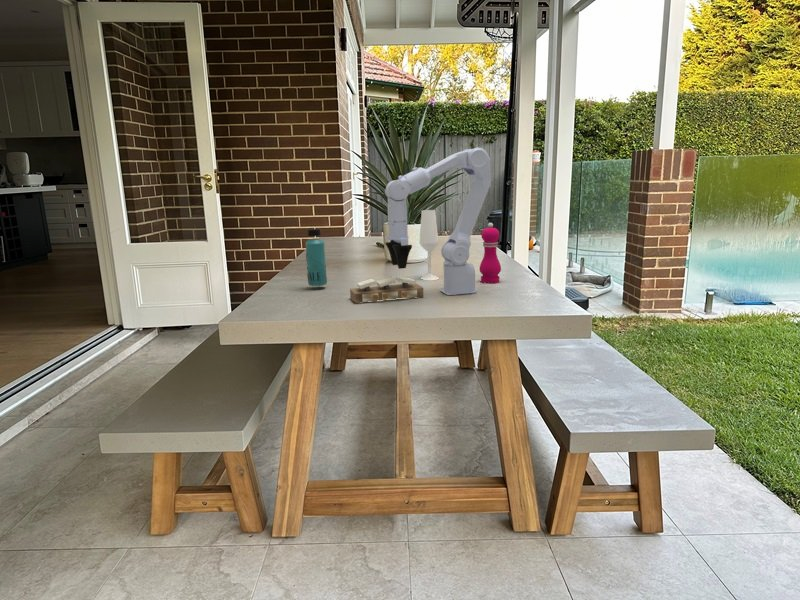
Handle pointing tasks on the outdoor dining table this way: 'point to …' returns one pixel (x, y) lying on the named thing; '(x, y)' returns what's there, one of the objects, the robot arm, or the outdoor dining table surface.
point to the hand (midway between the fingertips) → (399, 266)
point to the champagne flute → (428, 237)
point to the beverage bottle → (315, 260)
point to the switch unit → (386, 292)
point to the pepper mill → (490, 256)
